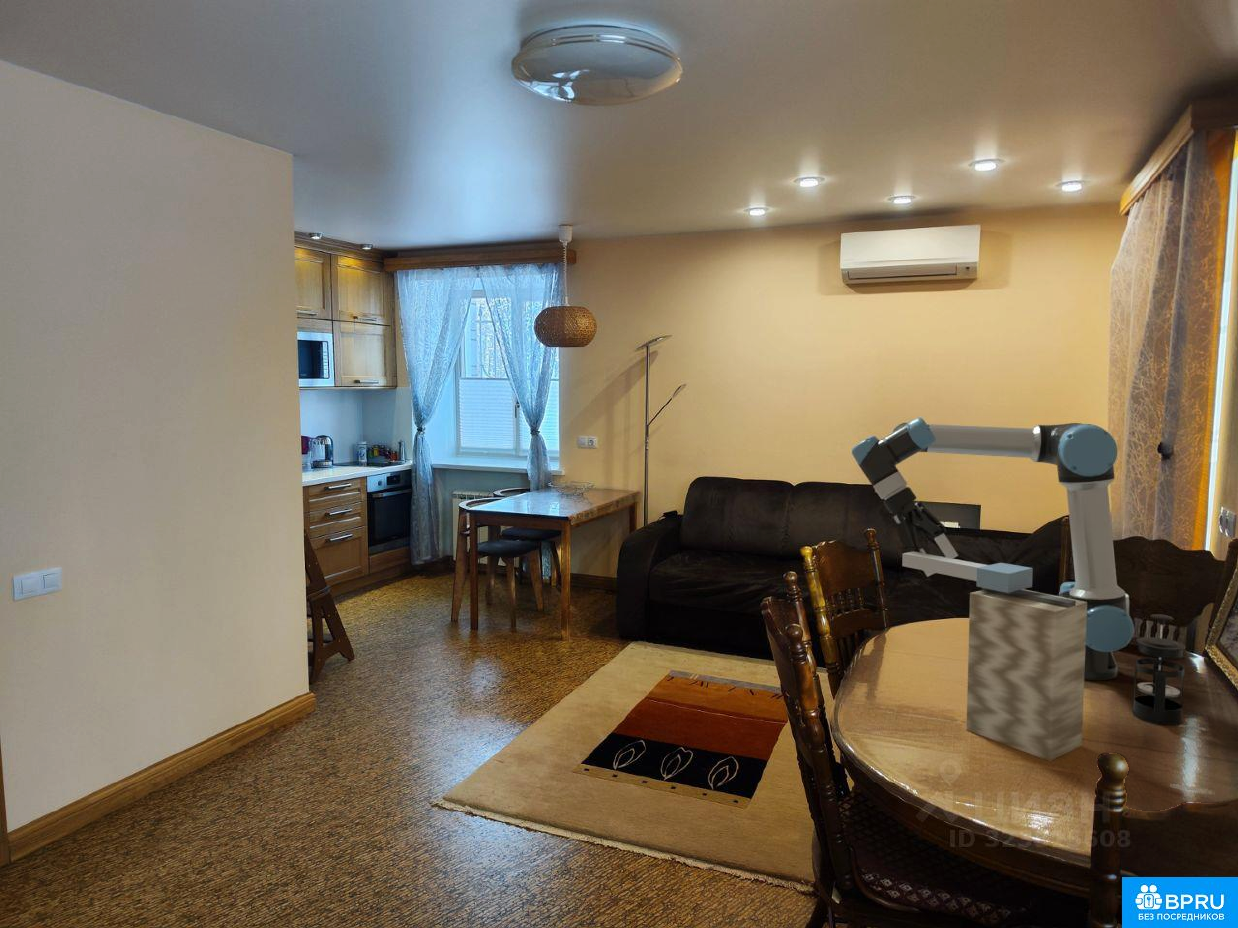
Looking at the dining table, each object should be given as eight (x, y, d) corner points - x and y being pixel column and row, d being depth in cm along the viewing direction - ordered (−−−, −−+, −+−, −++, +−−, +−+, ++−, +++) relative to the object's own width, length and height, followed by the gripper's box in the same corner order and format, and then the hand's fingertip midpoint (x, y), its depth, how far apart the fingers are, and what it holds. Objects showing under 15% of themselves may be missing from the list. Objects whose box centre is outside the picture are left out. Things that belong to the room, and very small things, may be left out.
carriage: (895, 569, 186) (895, 552, 186) (919, 564, 191) (919, 548, 191) (1007, 592, 164) (1008, 573, 163) (1032, 586, 169) (1032, 568, 168)
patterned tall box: (966, 729, 172) (970, 588, 169) (998, 716, 178) (1002, 580, 176) (1050, 760, 157) (1055, 606, 154) (1081, 745, 163) (1087, 597, 161)
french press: (1131, 704, 184) (1135, 607, 182) (1181, 712, 179) (1186, 612, 177) (1132, 722, 174) (1137, 619, 172) (1185, 731, 169) (1190, 626, 167)
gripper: (903, 489, 215) (949, 557, 210) (861, 511, 197) (910, 587, 192) (926, 475, 210) (973, 545, 205) (885, 497, 192) (936, 575, 187)
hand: (943, 566), depth 199 cm, fingers open, 13 cm apart
